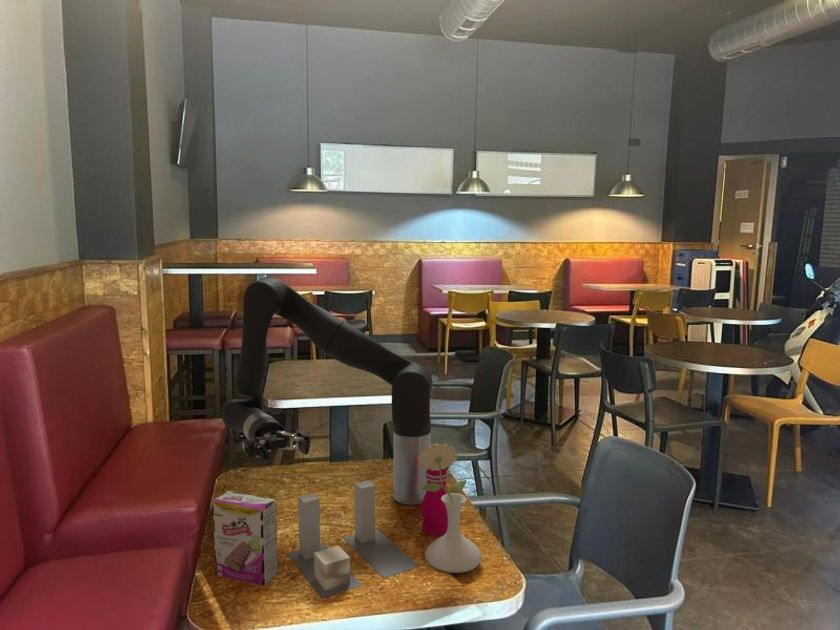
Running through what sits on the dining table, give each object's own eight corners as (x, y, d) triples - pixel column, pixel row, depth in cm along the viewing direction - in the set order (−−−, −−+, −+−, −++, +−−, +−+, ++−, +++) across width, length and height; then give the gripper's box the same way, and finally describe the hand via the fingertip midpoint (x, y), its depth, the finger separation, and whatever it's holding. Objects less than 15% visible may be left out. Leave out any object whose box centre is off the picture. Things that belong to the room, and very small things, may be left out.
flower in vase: (483, 551, 129) (486, 436, 125) (478, 582, 118) (481, 456, 114) (421, 545, 131) (422, 432, 128) (411, 575, 120) (412, 451, 117)
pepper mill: (427, 540, 134) (428, 451, 131) (414, 525, 140) (415, 440, 137) (457, 533, 136) (459, 446, 134) (443, 519, 143) (444, 436, 140)
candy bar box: (213, 581, 117) (210, 500, 115) (230, 568, 122) (227, 489, 120) (264, 593, 114) (262, 509, 111) (279, 579, 118) (277, 497, 116)
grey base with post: (376, 533, 136) (375, 476, 134) (419, 571, 121) (419, 508, 119) (342, 542, 132) (342, 484, 130) (383, 584, 117) (383, 518, 115)
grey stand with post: (323, 548, 129) (322, 488, 127) (362, 591, 114) (361, 524, 112) (286, 559, 125) (285, 497, 123) (321, 605, 110) (320, 535, 108)
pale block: (338, 569, 119) (338, 545, 118) (350, 582, 115) (349, 557, 114) (314, 577, 116) (314, 552, 116) (325, 590, 112) (324, 564, 112)
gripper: (232, 420, 141) (254, 442, 127) (292, 412, 149) (318, 431, 135) (233, 452, 142) (255, 476, 129) (292, 441, 150) (319, 464, 136)
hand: (287, 453), depth 132 cm, fingers open, 8 cm apart
